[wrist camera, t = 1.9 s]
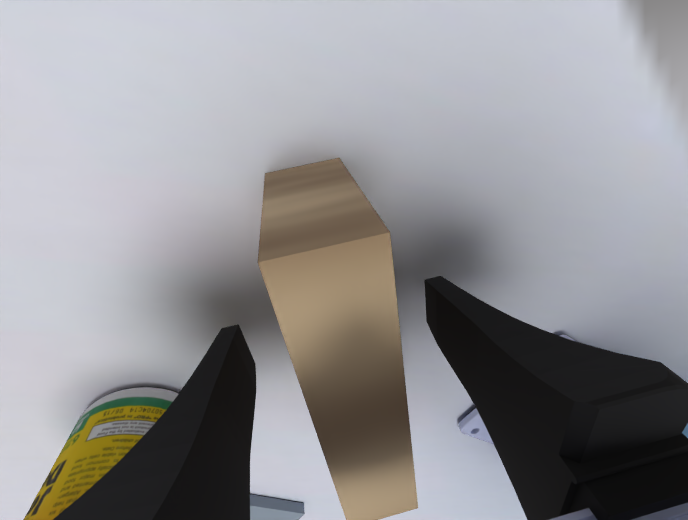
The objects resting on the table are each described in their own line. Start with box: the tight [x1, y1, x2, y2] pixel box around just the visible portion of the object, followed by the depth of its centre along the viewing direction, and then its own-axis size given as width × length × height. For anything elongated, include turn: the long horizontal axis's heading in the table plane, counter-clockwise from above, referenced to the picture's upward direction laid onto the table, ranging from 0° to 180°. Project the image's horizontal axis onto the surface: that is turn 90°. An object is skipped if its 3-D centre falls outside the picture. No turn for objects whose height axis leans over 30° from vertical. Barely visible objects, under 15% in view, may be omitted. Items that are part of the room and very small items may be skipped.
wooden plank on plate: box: [258, 158, 418, 520], centre depth 12 cm, size 11×2×6 cm, turn 9°
